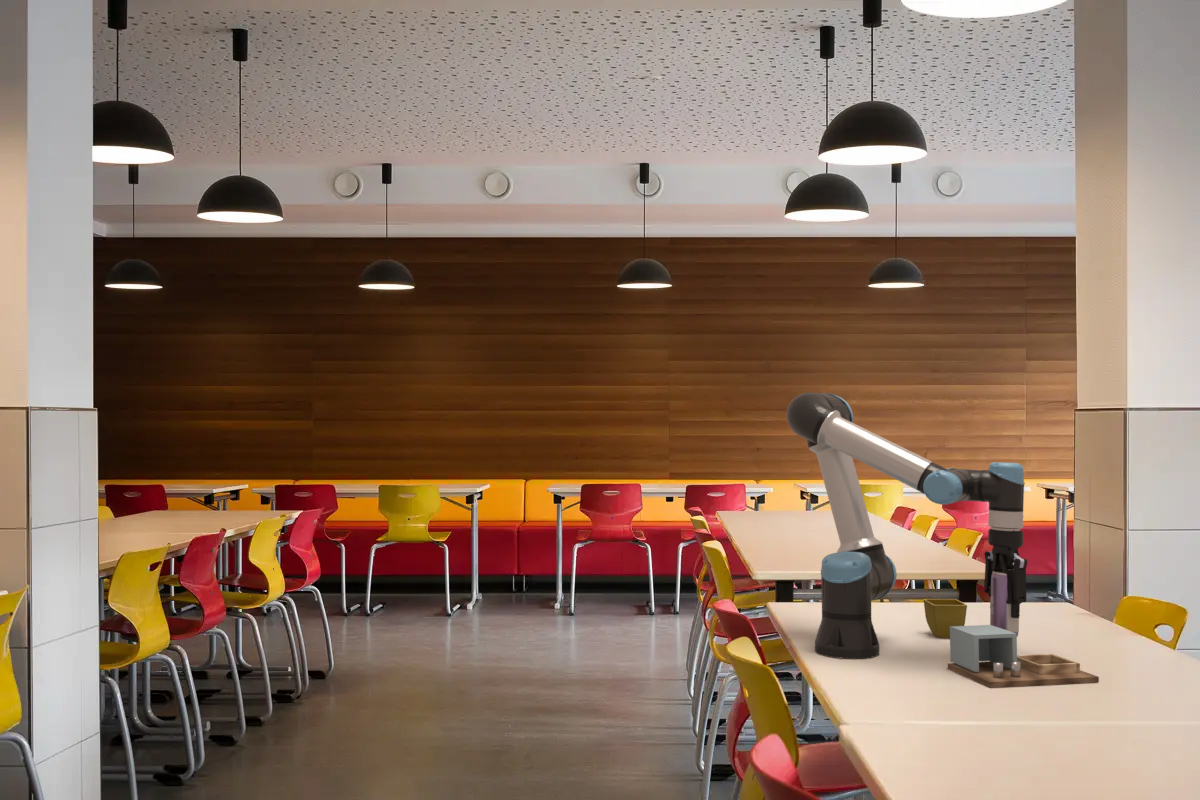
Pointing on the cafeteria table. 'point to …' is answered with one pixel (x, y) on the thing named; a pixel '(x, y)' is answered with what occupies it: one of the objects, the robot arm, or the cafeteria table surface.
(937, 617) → the flower pot
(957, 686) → the cafeteria table surface
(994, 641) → the housing
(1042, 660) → the base board
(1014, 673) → the stubs
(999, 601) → the beverage can
